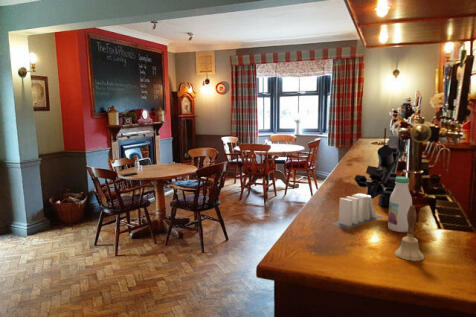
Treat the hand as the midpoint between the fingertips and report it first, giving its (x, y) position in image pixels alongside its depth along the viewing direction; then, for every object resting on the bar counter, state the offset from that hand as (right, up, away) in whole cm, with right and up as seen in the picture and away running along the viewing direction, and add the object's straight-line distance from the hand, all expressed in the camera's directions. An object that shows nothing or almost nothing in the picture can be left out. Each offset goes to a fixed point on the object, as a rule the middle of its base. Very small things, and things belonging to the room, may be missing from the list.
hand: (367, 200), depth 145 cm
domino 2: (-8, -8, -5) cm, 13 cm away
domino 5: (+1, -7, +2) cm, 7 cm away
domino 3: (-5, -8, -3) cm, 10 cm away
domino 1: (-12, -9, -7) cm, 16 cm away
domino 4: (-2, -7, 0) cm, 8 cm away
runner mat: (-5, -8, -3) cm, 10 cm away
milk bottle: (+7, -10, -12) cm, 18 cm away
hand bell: (0, -13, -35) cm, 38 cm away
